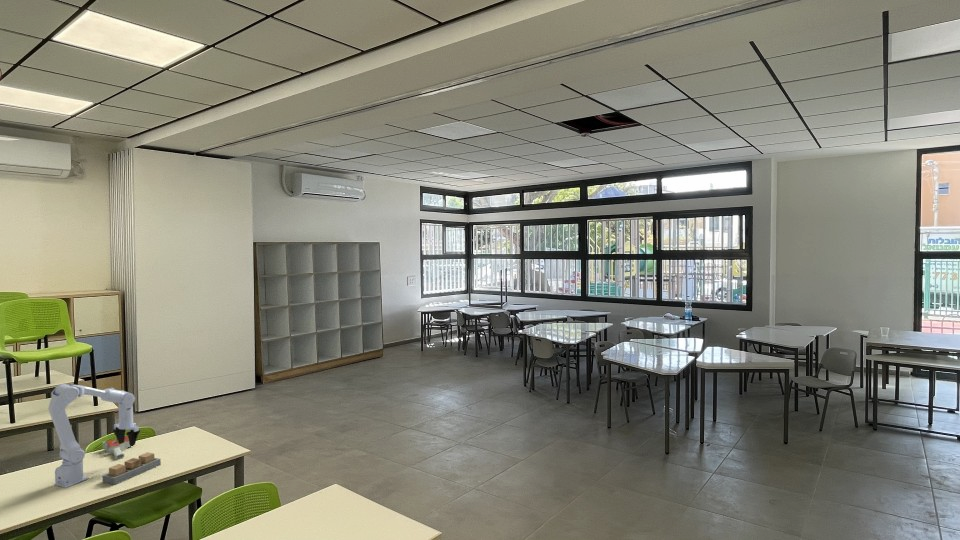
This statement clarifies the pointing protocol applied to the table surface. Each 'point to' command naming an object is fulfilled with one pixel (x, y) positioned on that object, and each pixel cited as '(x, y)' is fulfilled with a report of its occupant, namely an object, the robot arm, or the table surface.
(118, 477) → the pocket tray
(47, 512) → the table surface
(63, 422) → the robot arm
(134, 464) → the walnut block
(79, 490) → the table surface
